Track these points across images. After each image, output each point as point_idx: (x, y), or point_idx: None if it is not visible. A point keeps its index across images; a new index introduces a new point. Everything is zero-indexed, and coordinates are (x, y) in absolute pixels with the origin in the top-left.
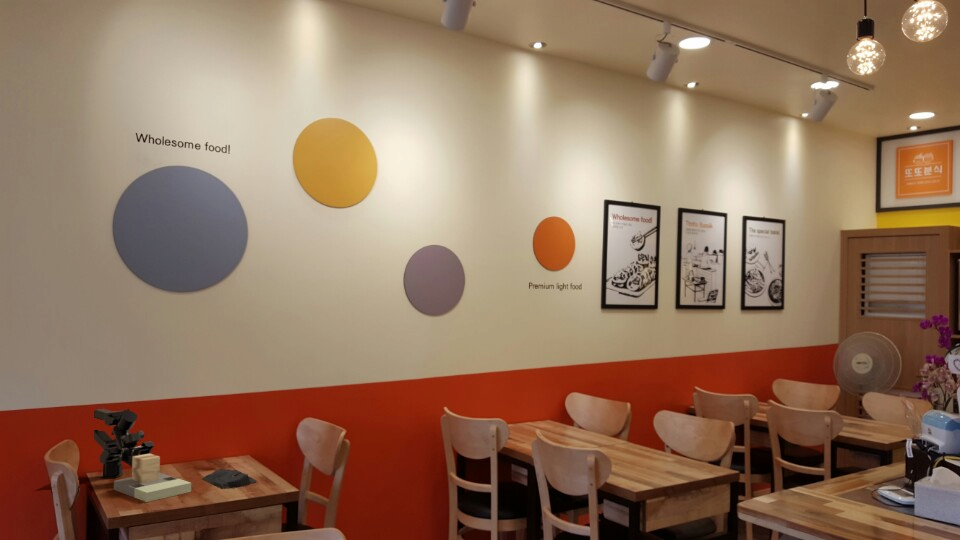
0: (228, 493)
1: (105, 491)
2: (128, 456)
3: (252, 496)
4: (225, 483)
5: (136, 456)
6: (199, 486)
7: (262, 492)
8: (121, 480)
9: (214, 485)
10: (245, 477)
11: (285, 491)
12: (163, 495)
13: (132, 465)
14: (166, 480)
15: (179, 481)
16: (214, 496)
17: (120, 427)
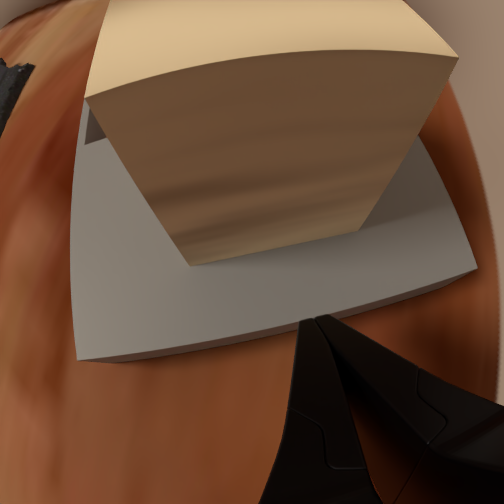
0: (63, 27)
1: (480, 274)
2: (498, 406)
3: (57, 7)
4: (12, 67)
5: (393, 23)
6: (44, 110)
7: (23, 27)
8: (433, 241)
9: (13, 106)
10: None
11: (2, 30)
12: None
13: (404, 147)
14: None
15: None
16: (104, 13)
17: None
